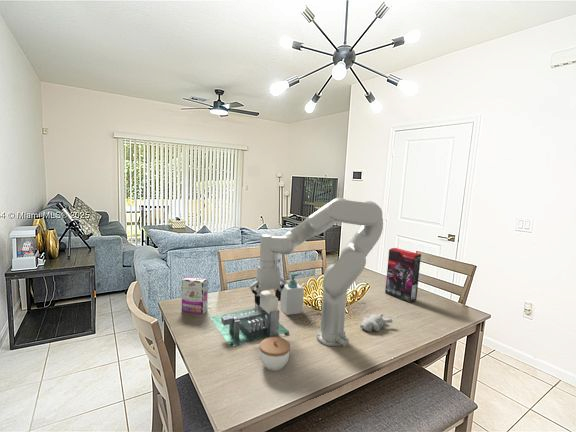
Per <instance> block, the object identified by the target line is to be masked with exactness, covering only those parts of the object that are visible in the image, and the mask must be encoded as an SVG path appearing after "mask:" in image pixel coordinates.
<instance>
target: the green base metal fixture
mask: <svg viewBox="0 0 576 432" xmlns="http://www.w3.org/2000/svg"><path fill="white" fill-rule="evenodd" d="M262 310H264V309H263V308H262V307H260V306H259V305H257V304H256V303H255V302H254V308H250V309H244V310H240V311H235V312H228V313H224V314H219V315H215V316H209V319H210V321H211V322H212V323H213V325H214V326H215V327H216V329H217V330H218V332H219V333H220V334H221V336H222V337H223V338H224V340H225V341H226V343H227V344H228V346H229V347H230V348H233V347H236V346H240V345H244V344H248V343H251V342H255V341H259V340H262V339H263V340H264V339H266V338H269V337H276V336H278V335H282V334H283V335H284V336H287V335H290V331H289V330H288V329H287V328H286V327H285V326H284V325H282V324H281V323H280V310H279V309H278V310H277V311H272V312H270V314H268V313H267V315H263V316H258V317H254V318H249V319H244V320H236V321H234V324H230V325H225V326H224V325H223V324H222V323H221V319H222V317H223V316H228V315H232V316H237V315H242V314H247V313H252V312H257V311H262Z"/></svg>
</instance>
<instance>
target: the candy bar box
mask: <svg viewBox="0 0 576 432" xmlns="http://www.w3.org/2000/svg"><path fill="white" fill-rule="evenodd" d="M208 280H209V279H208V278H201V277H193V276H186V277H183V278H182V279H181V311H182V312H188V313H193V314H199V315H204V314H205V313H206V312H207V311H208V299H209V297H208V296H209V295H208V290H209V289H208V286H209V285H208V284H209V281H208Z"/></svg>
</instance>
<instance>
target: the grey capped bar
mask: <svg viewBox="0 0 576 432" xmlns="http://www.w3.org/2000/svg"><path fill="white" fill-rule="evenodd" d="M263 315H267V312H266V311H265V310H262V311H257V312H252V313H247V314H242V315H237V316H232V315H228V316H223V317H222V319H221V323H222V324H223V325H224V326H225V325H230V324H234V321H236V320H244V319H249V318H254V317H258V316H263Z"/></svg>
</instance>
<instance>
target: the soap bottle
mask: <svg viewBox="0 0 576 432" xmlns="http://www.w3.org/2000/svg"><path fill="white" fill-rule="evenodd" d="M288 274H289V275H290V277H291V279H290V280H289V282H288V283H286V284H285V285H284V288H283V289H282V292H281V298H280V306H279V308H280V309H281V310H282V312H283V313H284V314H285V315H286V316H289V315H296V314H297V315H298V314H303V313H304V312H303V309H304V293H305V287H303V286H302V285H301V284H300V283H298V282H297V280H296V279H295V277H297V276H300V275H302V272H294V273H293V272H292V273H288Z"/></svg>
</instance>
